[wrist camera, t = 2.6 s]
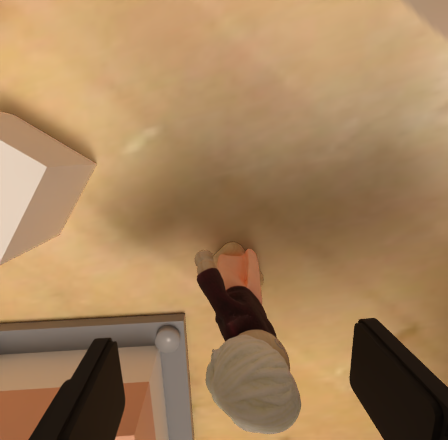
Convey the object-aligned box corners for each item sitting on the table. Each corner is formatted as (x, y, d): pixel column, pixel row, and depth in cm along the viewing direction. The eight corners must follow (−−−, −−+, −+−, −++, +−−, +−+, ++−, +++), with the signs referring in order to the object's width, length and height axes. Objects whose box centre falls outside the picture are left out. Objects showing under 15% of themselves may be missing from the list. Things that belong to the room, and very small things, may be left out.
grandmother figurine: (284, 279, 21) (384, 447, 9) (249, 311, 22) (298, 510, 10) (216, 211, 20) (223, 300, 8) (179, 247, 20) (130, 384, 8)
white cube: (14, 114, 18) (-80, 93, 12) (98, 163, 19) (47, 166, 13) (-21, 191, 19) (-124, 206, 13) (60, 234, 20) (-3, 266, 14)
